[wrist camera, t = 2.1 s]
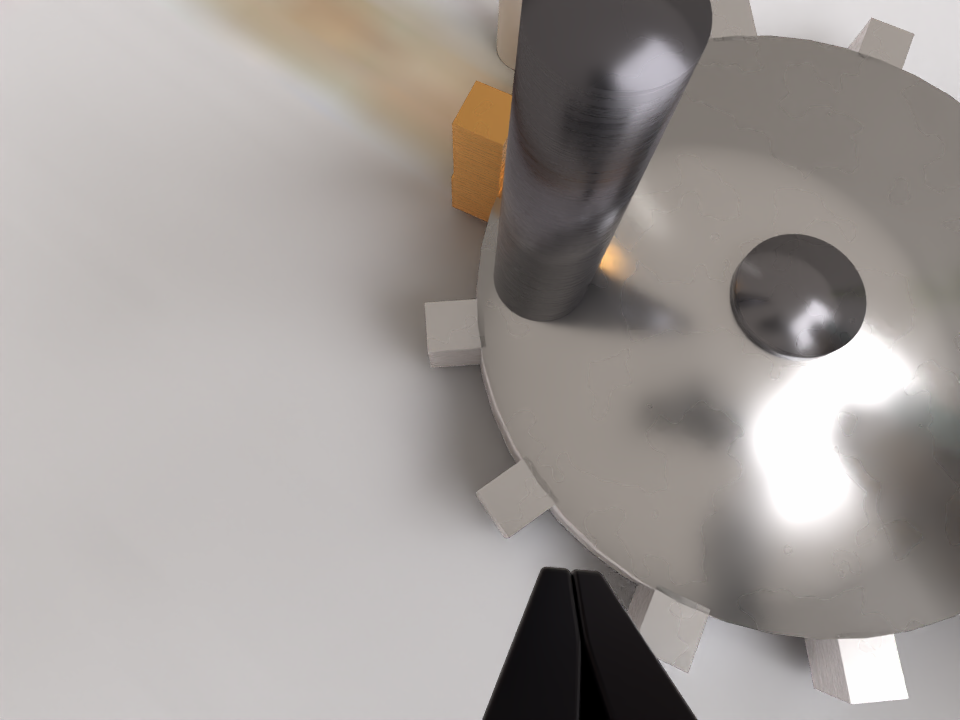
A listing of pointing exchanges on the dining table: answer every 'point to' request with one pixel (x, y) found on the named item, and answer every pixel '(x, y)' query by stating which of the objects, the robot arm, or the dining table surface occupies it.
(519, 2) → the pointer post
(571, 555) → the dining table surface
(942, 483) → the sprocket
